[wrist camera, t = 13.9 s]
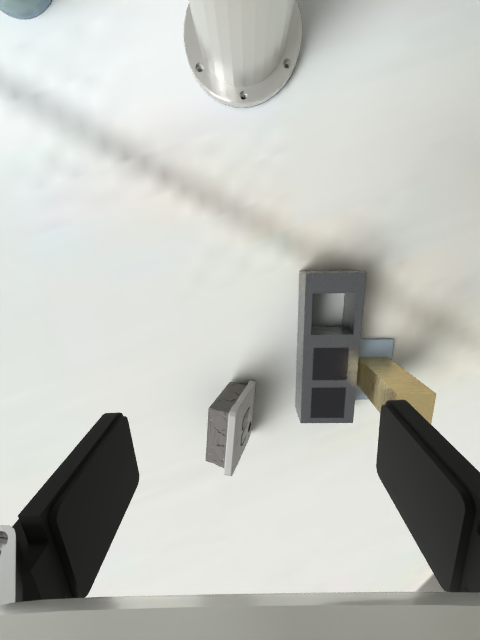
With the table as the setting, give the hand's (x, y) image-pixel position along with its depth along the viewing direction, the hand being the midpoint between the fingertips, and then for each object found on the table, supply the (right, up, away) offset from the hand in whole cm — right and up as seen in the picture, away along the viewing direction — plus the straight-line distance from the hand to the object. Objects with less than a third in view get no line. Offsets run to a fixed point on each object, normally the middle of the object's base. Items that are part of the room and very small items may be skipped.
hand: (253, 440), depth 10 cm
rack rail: (+11, +1, +28) cm, 30 cm away
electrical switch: (-1, -9, +31) cm, 32 cm away
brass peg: (+18, -3, +28) cm, 34 cm away
